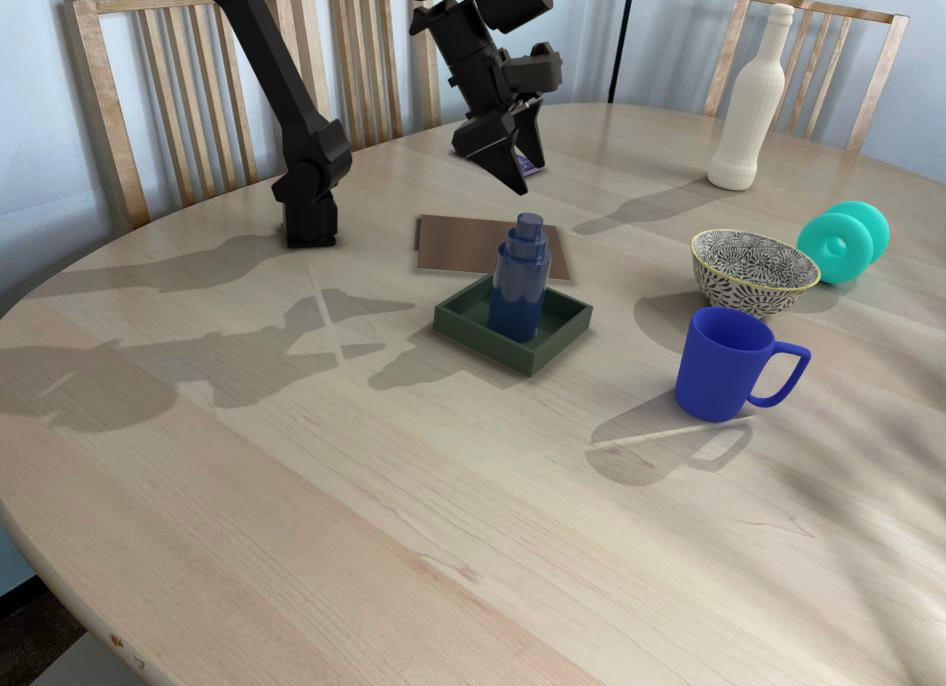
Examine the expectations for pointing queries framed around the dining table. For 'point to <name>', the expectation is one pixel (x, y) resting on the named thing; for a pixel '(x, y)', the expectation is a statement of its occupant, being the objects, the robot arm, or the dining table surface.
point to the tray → (468, 326)
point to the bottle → (752, 107)
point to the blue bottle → (520, 280)
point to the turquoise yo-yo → (844, 240)
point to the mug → (729, 364)
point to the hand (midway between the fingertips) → (533, 180)
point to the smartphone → (526, 165)
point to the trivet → (475, 245)
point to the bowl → (750, 271)
